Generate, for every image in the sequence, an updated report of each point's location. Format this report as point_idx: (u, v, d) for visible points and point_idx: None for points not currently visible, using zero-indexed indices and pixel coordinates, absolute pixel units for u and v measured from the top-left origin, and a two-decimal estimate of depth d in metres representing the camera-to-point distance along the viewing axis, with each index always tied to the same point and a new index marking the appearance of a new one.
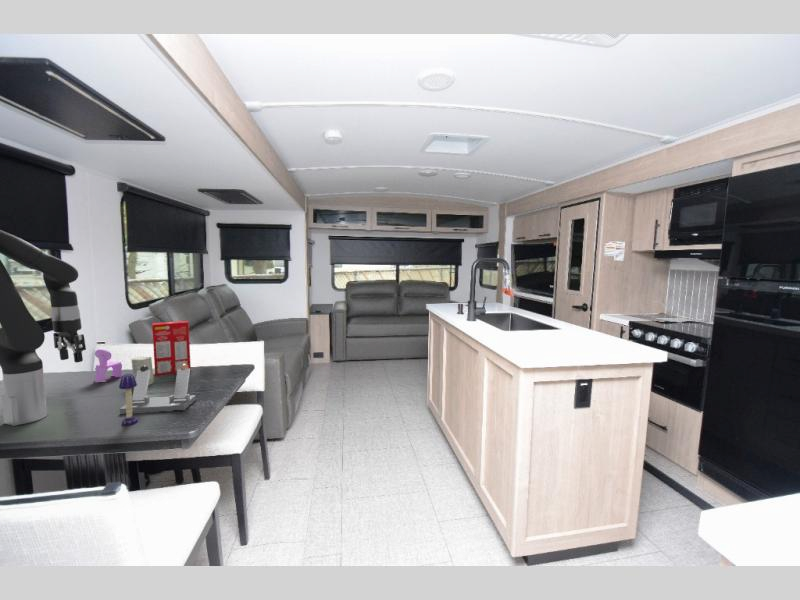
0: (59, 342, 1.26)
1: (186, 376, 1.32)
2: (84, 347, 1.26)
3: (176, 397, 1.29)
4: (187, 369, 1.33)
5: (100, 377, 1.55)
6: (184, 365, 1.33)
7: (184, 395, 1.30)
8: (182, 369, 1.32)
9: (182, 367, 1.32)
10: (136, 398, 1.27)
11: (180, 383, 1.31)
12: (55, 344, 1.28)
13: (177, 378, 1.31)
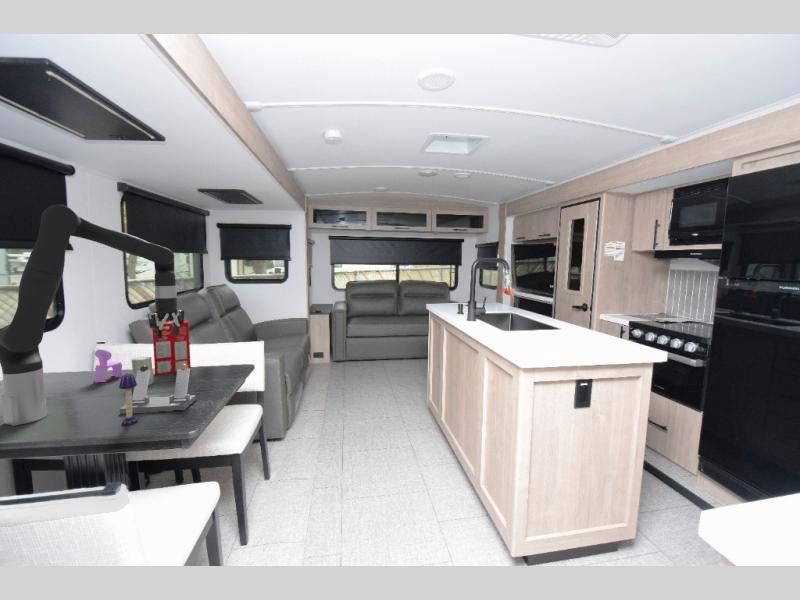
0: (164, 319, 1.38)
1: (186, 376, 1.32)
2: None
3: (176, 397, 1.29)
4: (187, 369, 1.33)
5: (100, 377, 1.55)
6: (184, 365, 1.33)
7: (184, 395, 1.30)
8: (182, 369, 1.32)
9: (182, 367, 1.32)
10: (136, 398, 1.27)
11: (180, 383, 1.31)
12: (155, 325, 1.35)
13: (177, 378, 1.31)
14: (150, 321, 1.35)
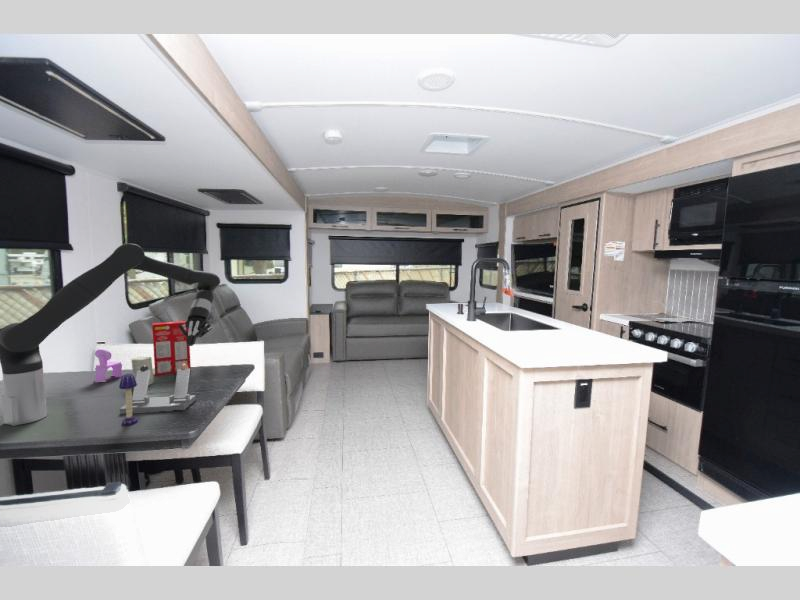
0: (190, 326, 1.42)
1: (186, 376, 1.32)
2: (202, 335, 1.43)
3: (176, 397, 1.29)
4: (187, 369, 1.33)
5: (100, 377, 1.55)
6: (184, 365, 1.33)
7: (184, 395, 1.30)
8: (182, 369, 1.32)
9: (182, 367, 1.32)
10: (136, 398, 1.27)
11: (180, 383, 1.31)
12: (184, 331, 1.41)
13: (177, 378, 1.31)
14: (182, 332, 1.42)
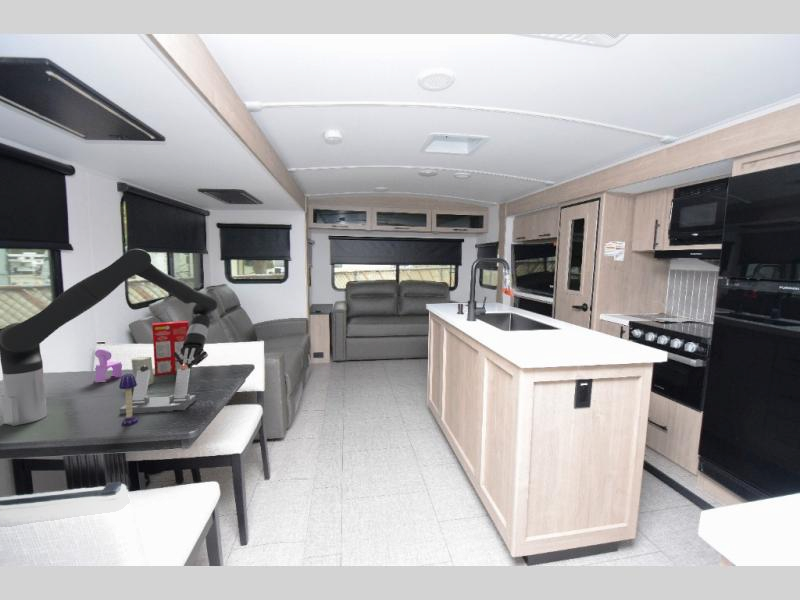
0: (186, 354, 1.38)
1: (186, 376, 1.32)
2: (198, 363, 1.39)
3: (176, 397, 1.29)
4: (187, 369, 1.33)
5: (100, 377, 1.55)
6: (184, 365, 1.33)
7: (184, 395, 1.30)
8: (182, 369, 1.32)
9: (182, 367, 1.32)
10: (136, 398, 1.27)
11: (180, 383, 1.31)
12: (179, 359, 1.36)
13: (177, 378, 1.31)
14: None
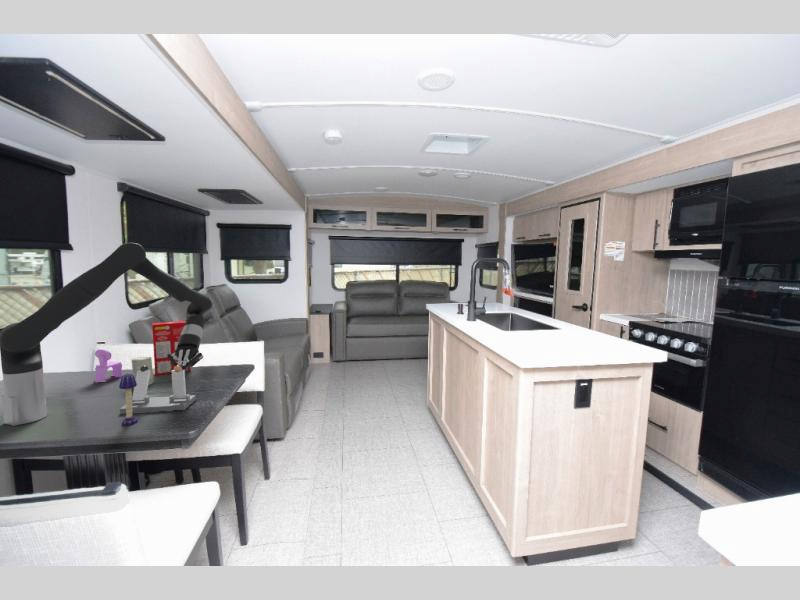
0: (180, 356, 1.33)
1: (182, 378, 1.28)
2: (193, 365, 1.34)
3: (176, 398, 1.29)
4: (181, 371, 1.28)
5: (100, 377, 1.55)
6: (177, 367, 1.27)
7: (183, 396, 1.29)
8: (176, 372, 1.27)
9: (176, 370, 1.27)
10: (136, 398, 1.27)
11: (177, 385, 1.28)
12: (173, 362, 1.32)
13: (173, 380, 1.28)
14: None
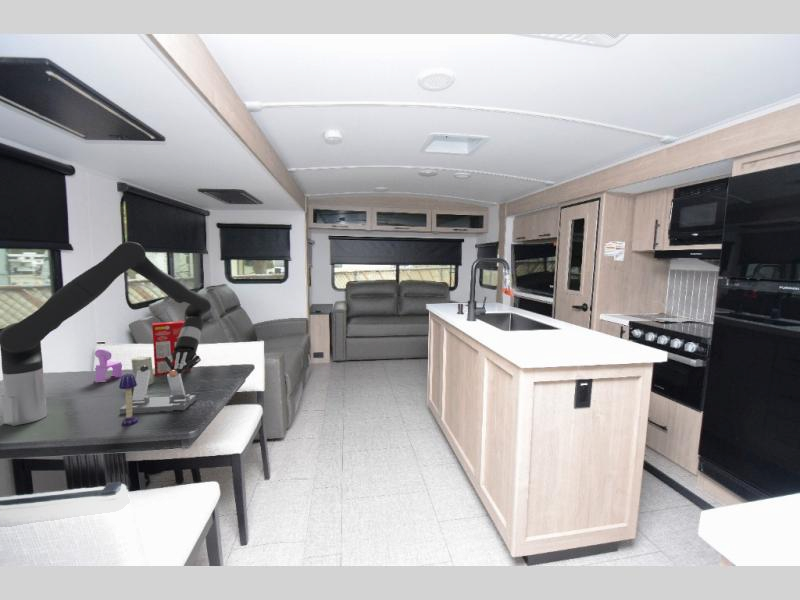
0: (177, 358, 1.30)
1: (179, 382, 1.26)
2: (190, 368, 1.31)
3: (175, 399, 1.29)
4: (177, 376, 1.25)
5: (100, 377, 1.55)
6: (173, 373, 1.24)
7: (183, 397, 1.29)
8: (172, 377, 1.24)
9: (171, 375, 1.24)
10: (136, 398, 1.27)
11: (175, 387, 1.26)
12: (170, 365, 1.29)
13: (170, 384, 1.25)
14: None
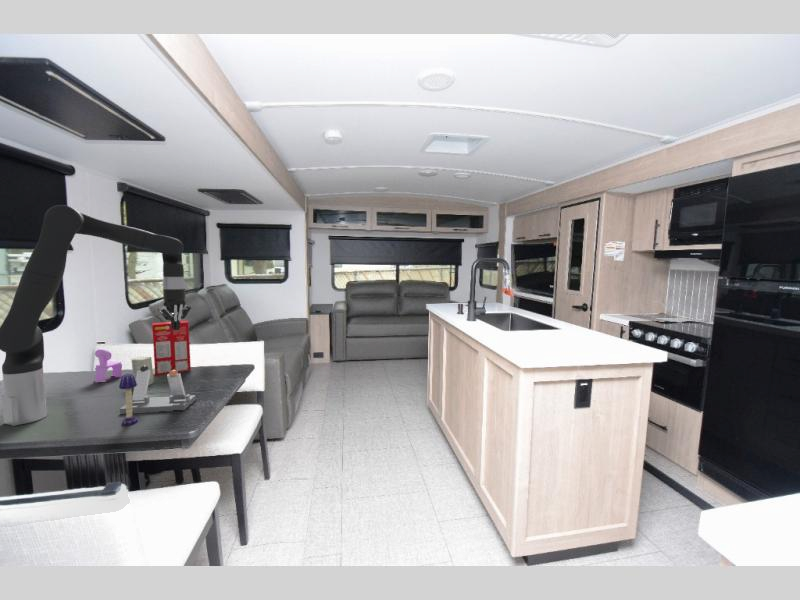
0: (175, 311, 1.38)
1: (179, 382, 1.26)
2: None
3: (175, 399, 1.29)
4: (177, 376, 1.25)
5: (100, 377, 1.55)
6: (173, 373, 1.23)
7: (183, 397, 1.29)
8: (172, 377, 1.24)
9: (171, 375, 1.23)
10: (136, 398, 1.27)
11: (175, 388, 1.26)
12: (170, 317, 1.36)
13: (170, 384, 1.25)
14: (163, 315, 1.35)
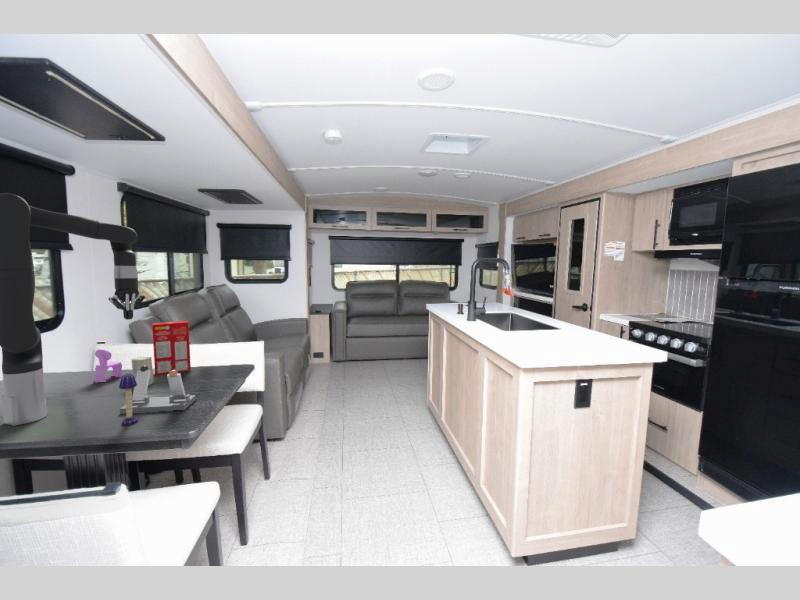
0: (127, 300, 1.38)
1: (179, 382, 1.26)
2: None
3: (175, 399, 1.29)
4: (177, 376, 1.25)
5: (100, 377, 1.55)
6: (173, 373, 1.23)
7: (183, 397, 1.29)
8: (172, 377, 1.24)
9: (171, 375, 1.23)
10: (136, 398, 1.27)
11: (175, 388, 1.26)
12: (121, 306, 1.36)
13: (170, 384, 1.25)
14: (114, 304, 1.35)
